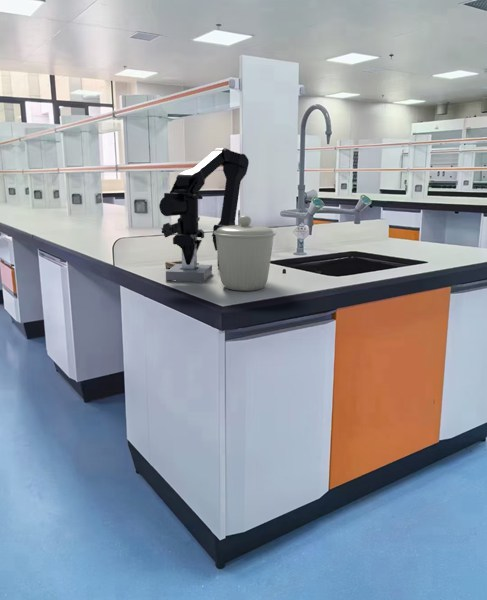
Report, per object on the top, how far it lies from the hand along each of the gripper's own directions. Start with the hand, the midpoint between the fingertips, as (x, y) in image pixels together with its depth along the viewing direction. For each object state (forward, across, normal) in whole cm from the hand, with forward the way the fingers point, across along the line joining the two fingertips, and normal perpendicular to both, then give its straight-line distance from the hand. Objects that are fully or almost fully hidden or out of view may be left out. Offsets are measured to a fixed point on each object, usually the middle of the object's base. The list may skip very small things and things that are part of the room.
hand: (189, 263), depth 168 cm
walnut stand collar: (+4, -15, -6) cm, 17 cm away
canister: (+5, +12, +19) cm, 23 cm away
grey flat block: (+4, 0, 0) cm, 4 cm away
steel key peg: (+3, 0, 0) cm, 3 cm away
